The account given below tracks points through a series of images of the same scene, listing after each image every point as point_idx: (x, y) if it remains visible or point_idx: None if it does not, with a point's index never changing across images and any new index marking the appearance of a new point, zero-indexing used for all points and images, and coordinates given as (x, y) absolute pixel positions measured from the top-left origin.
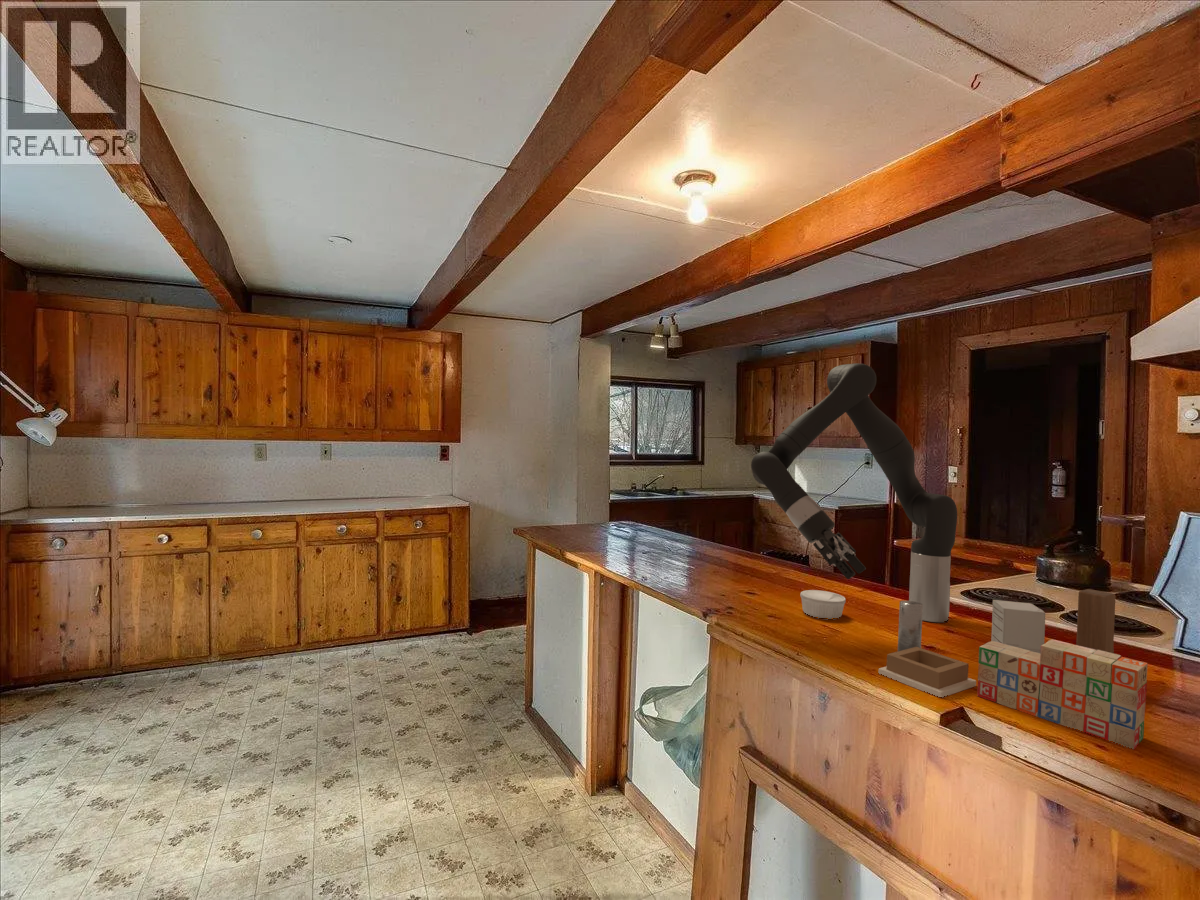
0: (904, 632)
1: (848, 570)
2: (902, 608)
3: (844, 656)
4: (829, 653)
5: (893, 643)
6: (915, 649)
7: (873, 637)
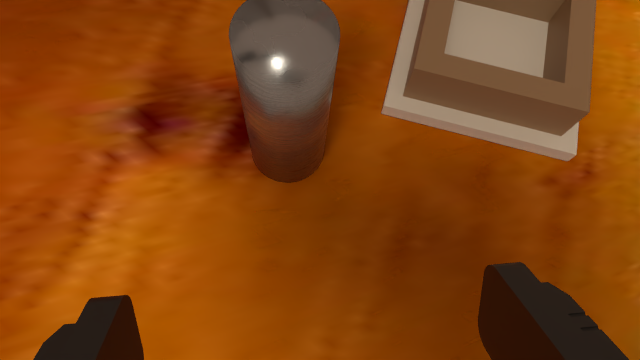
0: (328, 117)
1: (577, 306)
2: (330, 73)
3: None
4: None
5: (207, 219)
6: (449, 63)
7: (186, 302)
